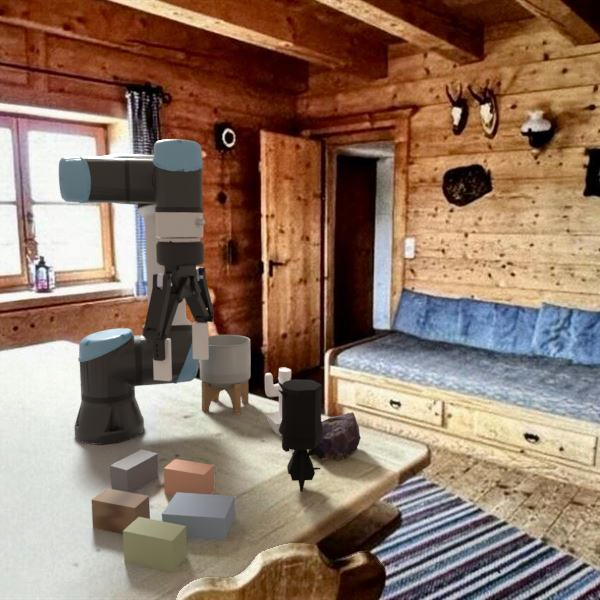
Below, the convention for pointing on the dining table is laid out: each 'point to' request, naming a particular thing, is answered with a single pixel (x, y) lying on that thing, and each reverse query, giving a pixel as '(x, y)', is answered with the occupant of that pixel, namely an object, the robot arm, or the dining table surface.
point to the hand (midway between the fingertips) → (183, 368)
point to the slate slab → (201, 514)
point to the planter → (226, 370)
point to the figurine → (273, 391)
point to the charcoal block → (134, 471)
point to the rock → (339, 437)
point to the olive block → (155, 544)
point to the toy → (301, 426)
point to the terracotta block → (188, 477)
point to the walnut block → (118, 509)
